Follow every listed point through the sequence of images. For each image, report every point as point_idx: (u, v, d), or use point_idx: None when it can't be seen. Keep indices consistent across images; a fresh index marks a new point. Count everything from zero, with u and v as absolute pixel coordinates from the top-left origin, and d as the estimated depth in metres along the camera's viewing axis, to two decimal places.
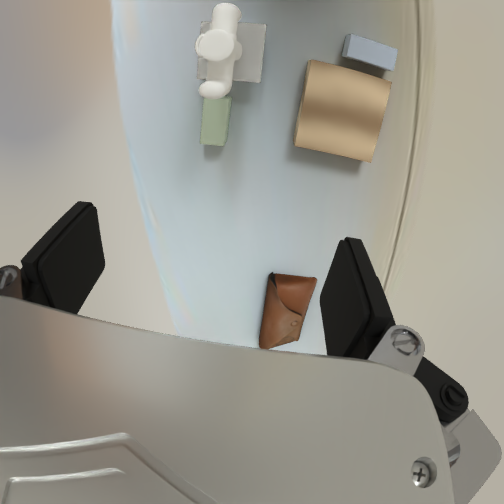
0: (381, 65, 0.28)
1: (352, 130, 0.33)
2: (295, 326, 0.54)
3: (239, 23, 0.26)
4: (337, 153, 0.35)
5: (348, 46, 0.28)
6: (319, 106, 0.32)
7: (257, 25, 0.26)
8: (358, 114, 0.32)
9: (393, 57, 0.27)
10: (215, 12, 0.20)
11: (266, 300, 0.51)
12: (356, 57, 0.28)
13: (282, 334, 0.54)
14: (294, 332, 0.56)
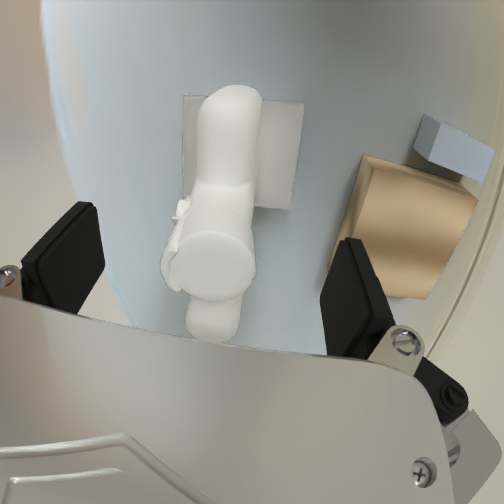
0: (470, 175, 0.18)
1: (412, 267, 0.23)
2: None
3: None
4: (387, 294, 0.25)
5: (432, 143, 0.18)
6: (374, 240, 0.22)
7: (288, 105, 0.16)
8: (426, 247, 0.22)
9: (487, 163, 0.17)
10: (204, 128, 0.10)
11: None
12: (440, 163, 0.18)
13: None
14: None
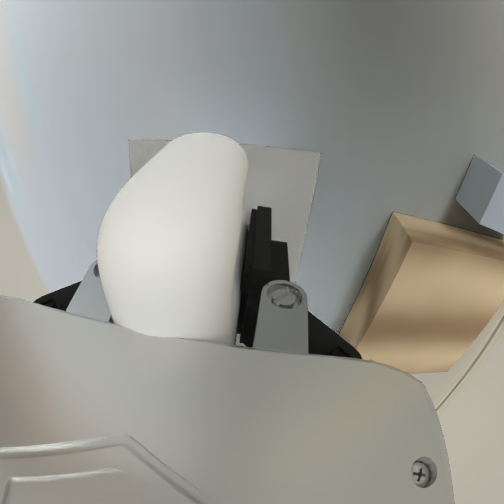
0: None
1: (439, 344, 0.18)
2: None
3: None
4: None
5: (486, 200, 0.12)
6: (399, 323, 0.16)
7: (293, 154, 0.11)
8: (458, 324, 0.16)
9: None
10: (106, 286, 0.04)
11: None
12: (492, 226, 0.12)
13: None
14: None
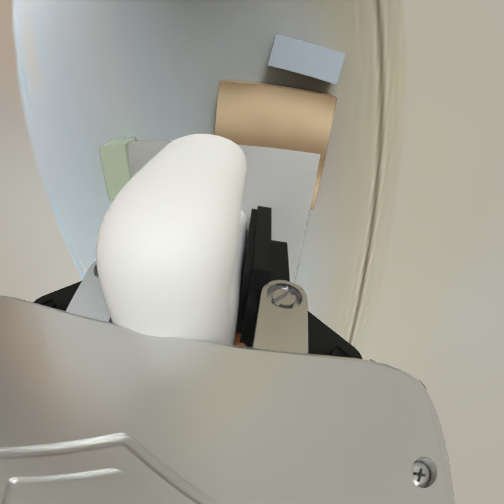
0: (318, 77, 0.22)
1: None
2: None
3: None
4: None
5: None
6: None
7: (292, 155, 0.11)
8: (291, 148, 0.26)
9: (337, 65, 0.21)
10: (105, 288, 0.04)
11: None
12: (281, 66, 0.22)
13: None
14: None
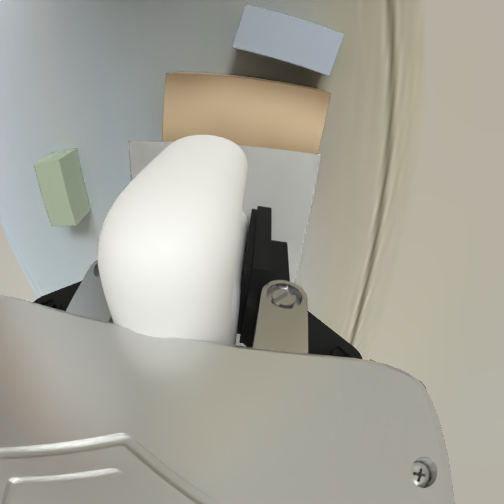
0: (304, 64, 0.15)
1: None
2: None
3: None
4: None
5: None
6: None
7: (294, 156, 0.11)
8: None
9: (332, 48, 0.15)
10: (106, 289, 0.04)
11: None
12: (251, 49, 0.15)
13: None
14: None
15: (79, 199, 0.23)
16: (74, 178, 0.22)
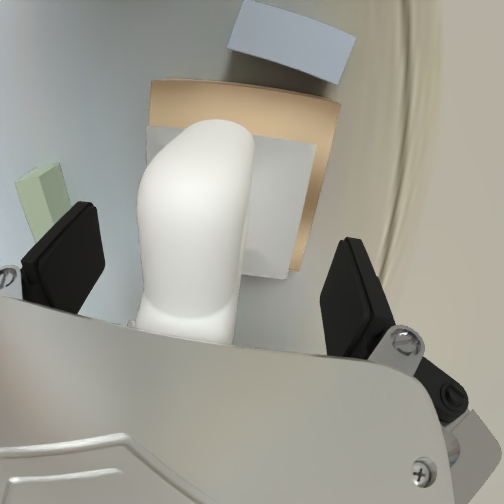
0: (309, 70, 0.13)
1: None
2: None
3: None
4: None
5: None
6: None
7: (292, 145, 0.12)
8: None
9: (342, 53, 0.13)
10: (144, 224, 0.06)
11: None
12: (248, 50, 0.13)
13: None
14: None
15: None
16: (57, 195, 0.20)
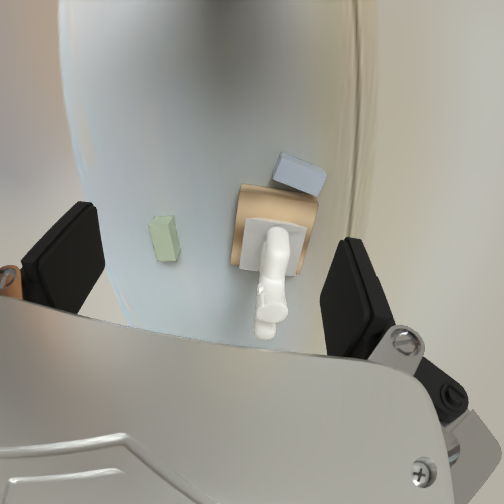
0: (305, 190, 0.37)
1: None
2: None
3: (282, 224, 0.36)
4: None
5: (276, 169, 0.36)
6: None
7: (298, 228, 0.36)
8: None
9: (320, 183, 0.36)
10: (270, 260, 0.29)
11: None
12: (281, 181, 0.37)
13: None
14: None
15: (176, 245, 0.44)
16: (174, 233, 0.43)
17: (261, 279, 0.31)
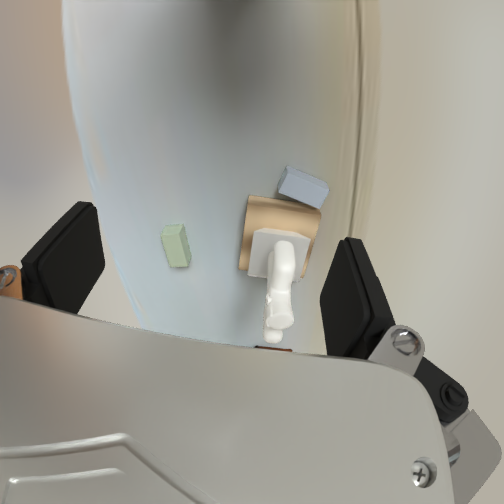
0: (309, 203, 0.40)
1: None
2: None
3: (287, 236, 0.38)
4: None
5: (282, 183, 0.39)
6: None
7: (302, 239, 0.38)
8: None
9: (323, 197, 0.39)
10: (277, 274, 0.32)
11: None
12: (287, 194, 0.39)
13: None
14: None
15: (187, 251, 0.47)
16: (184, 241, 0.46)
17: (269, 289, 0.34)
